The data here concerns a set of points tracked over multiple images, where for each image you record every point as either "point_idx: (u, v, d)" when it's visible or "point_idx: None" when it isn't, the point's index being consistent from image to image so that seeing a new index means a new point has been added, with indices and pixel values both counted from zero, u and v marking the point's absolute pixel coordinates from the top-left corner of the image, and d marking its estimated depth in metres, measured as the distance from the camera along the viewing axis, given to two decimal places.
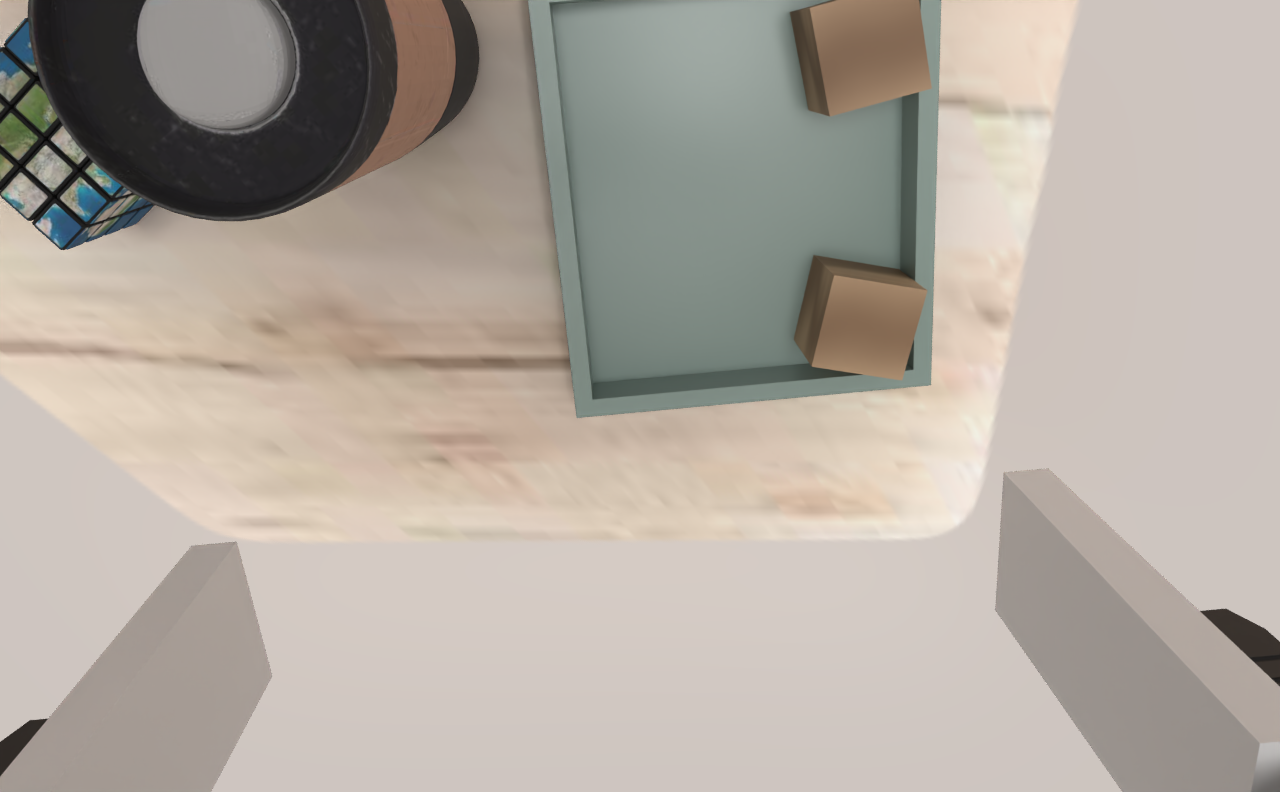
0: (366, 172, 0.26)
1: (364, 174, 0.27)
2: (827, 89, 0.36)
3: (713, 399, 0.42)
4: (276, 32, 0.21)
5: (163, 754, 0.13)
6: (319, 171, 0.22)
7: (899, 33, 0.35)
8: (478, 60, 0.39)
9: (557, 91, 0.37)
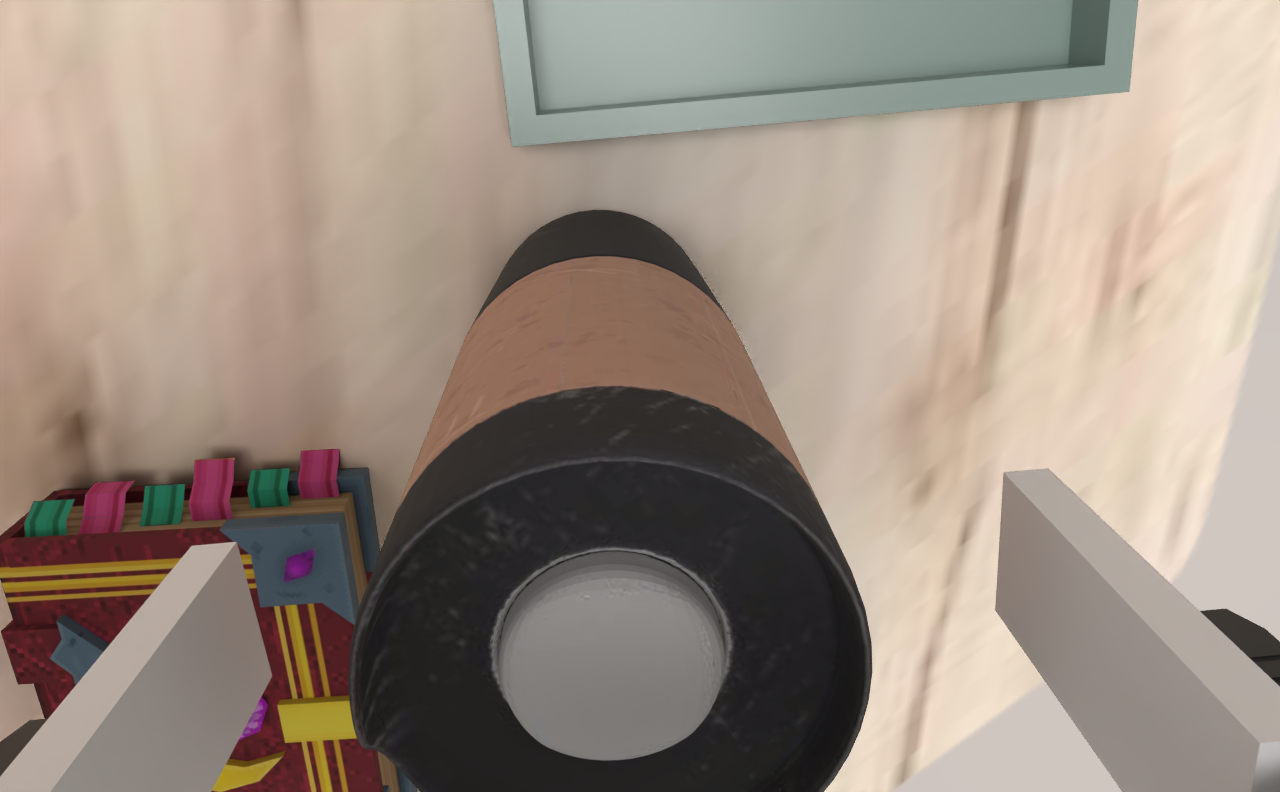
0: (777, 419, 0.17)
1: None
2: None
3: None
4: (581, 584, 0.13)
5: (163, 754, 0.13)
6: (796, 534, 0.13)
7: None
8: (610, 211, 0.30)
9: (650, 107, 0.27)
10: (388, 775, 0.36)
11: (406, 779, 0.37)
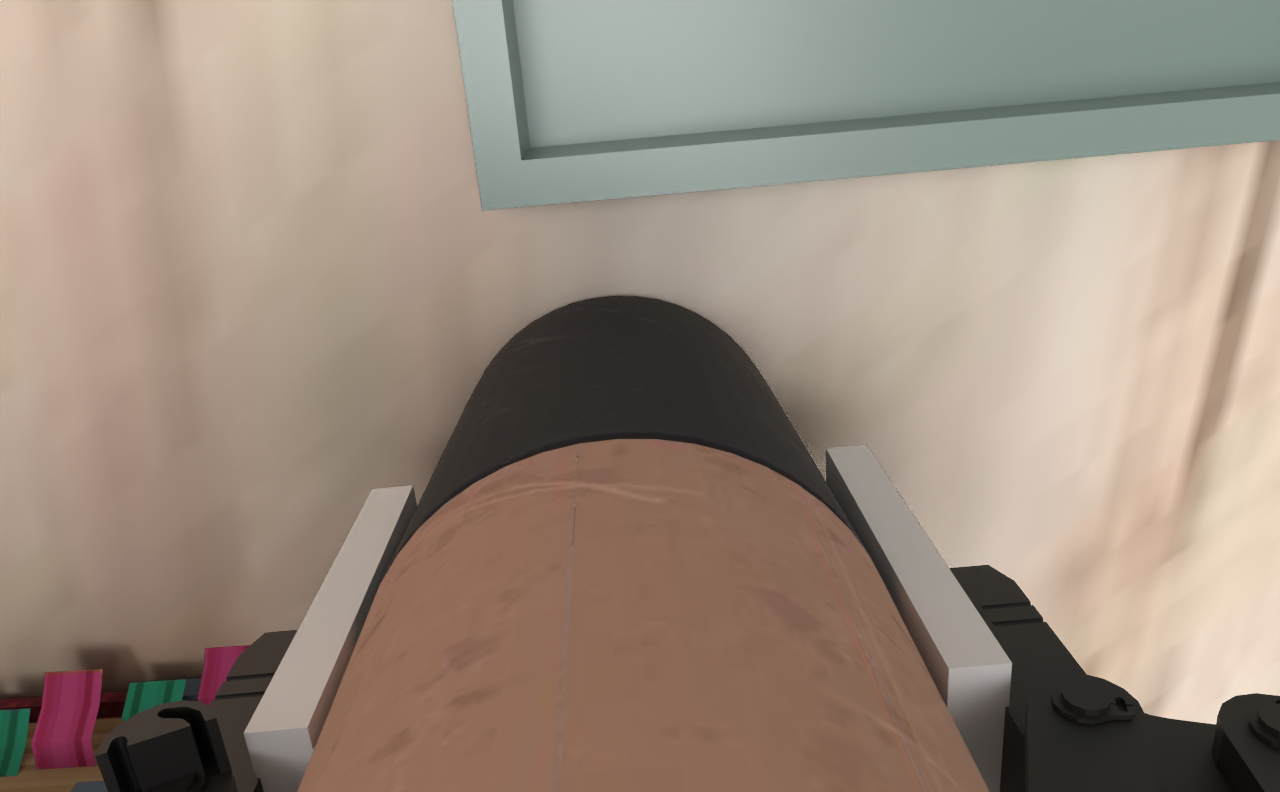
0: None
1: None
2: None
3: None
4: None
5: None
6: None
7: None
8: (638, 299, 0.20)
9: (708, 147, 0.16)
10: None
11: None
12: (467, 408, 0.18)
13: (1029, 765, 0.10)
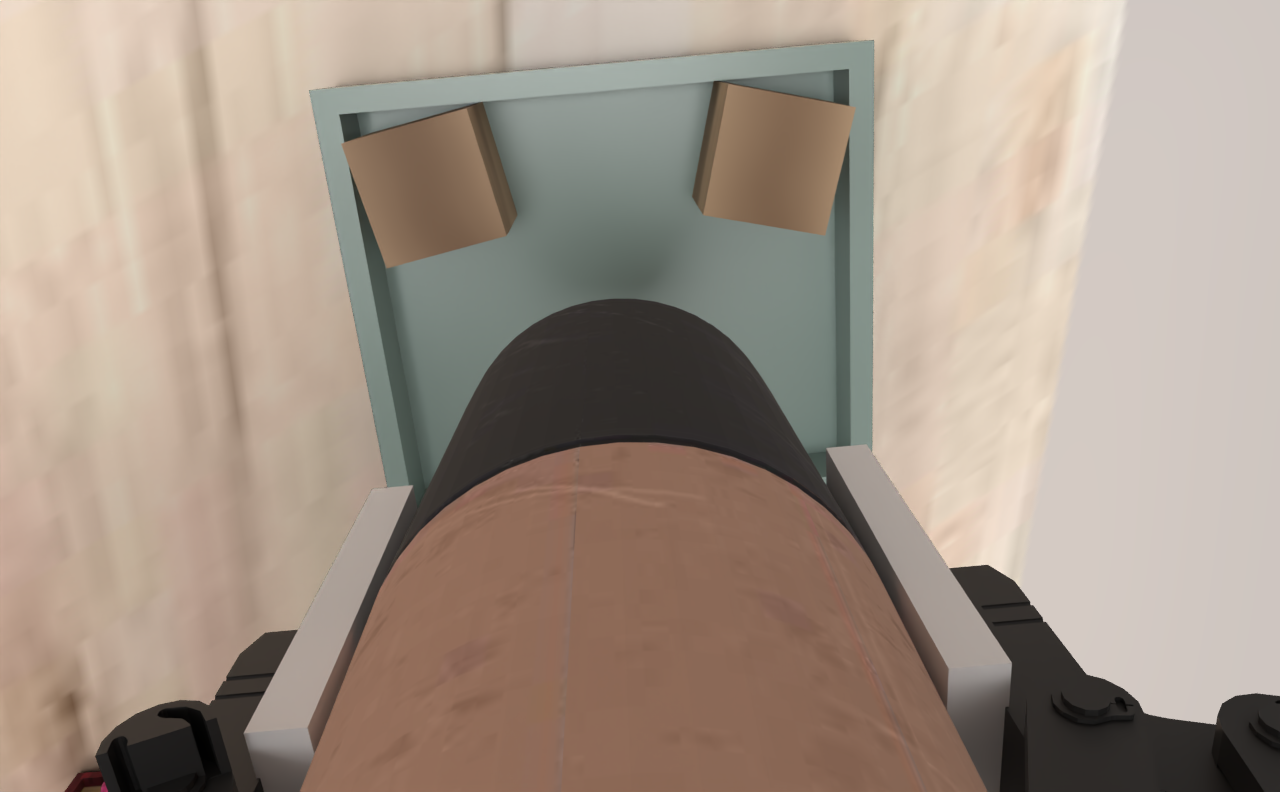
0: None
1: None
2: (475, 240, 0.30)
3: (865, 335, 0.33)
4: None
5: None
6: None
7: (405, 157, 0.29)
8: (638, 301, 0.20)
9: None
10: None
11: None
12: (467, 410, 0.18)
13: (1029, 765, 0.10)
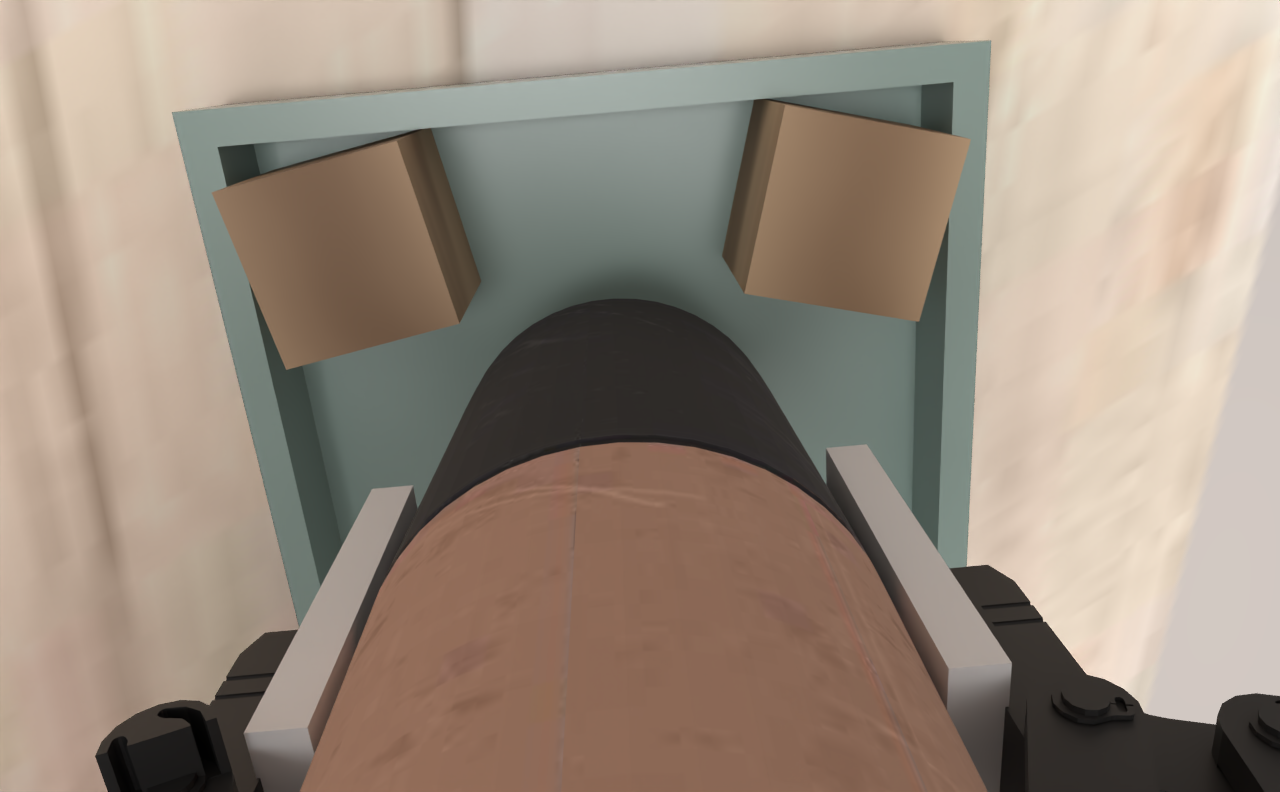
0: None
1: None
2: (414, 330, 0.20)
3: (961, 449, 0.24)
4: None
5: None
6: None
7: (307, 212, 0.19)
8: (638, 301, 0.20)
9: None
10: None
11: None
12: (467, 410, 0.18)
13: (1029, 765, 0.10)
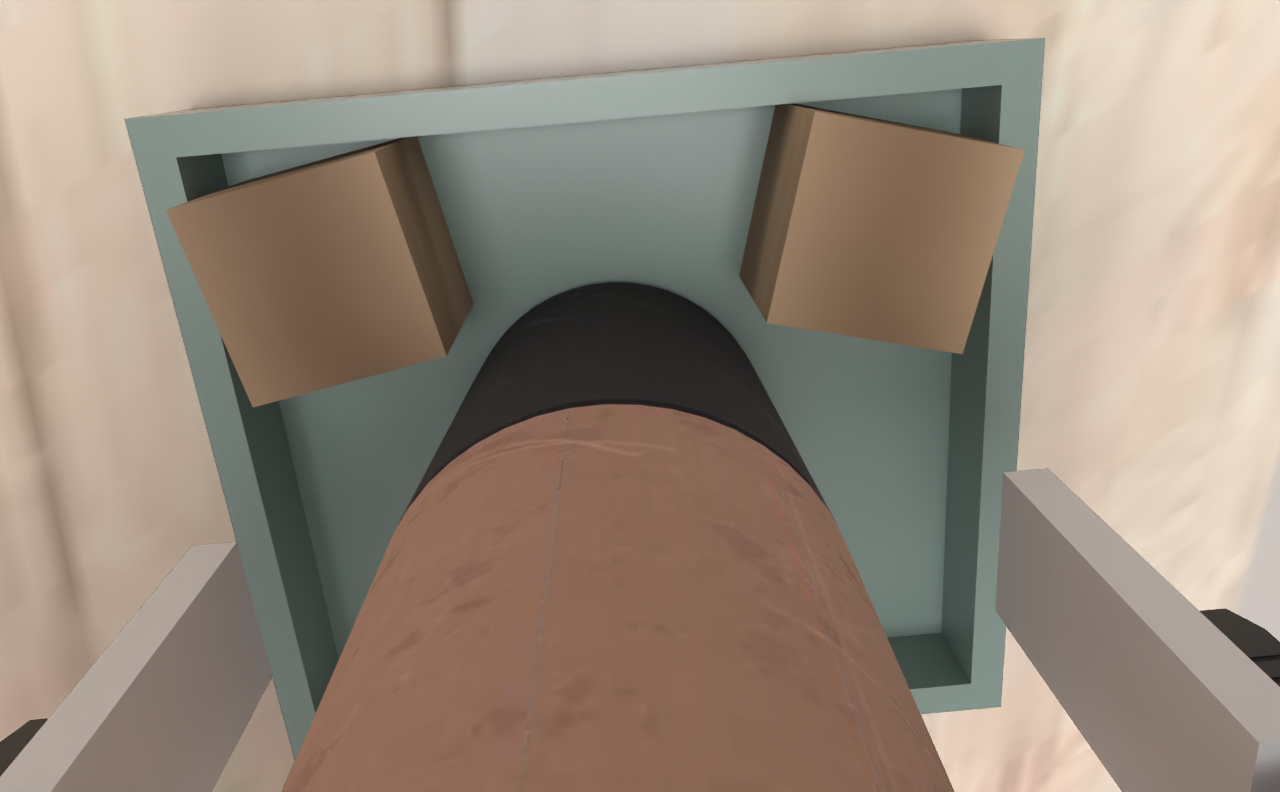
0: None
1: (949, 784, 0.09)
2: (396, 364, 0.18)
3: None
4: None
5: (163, 754, 0.13)
6: None
7: (274, 231, 0.17)
8: (632, 285, 0.21)
9: None
10: None
11: None
12: (473, 384, 0.19)
13: None
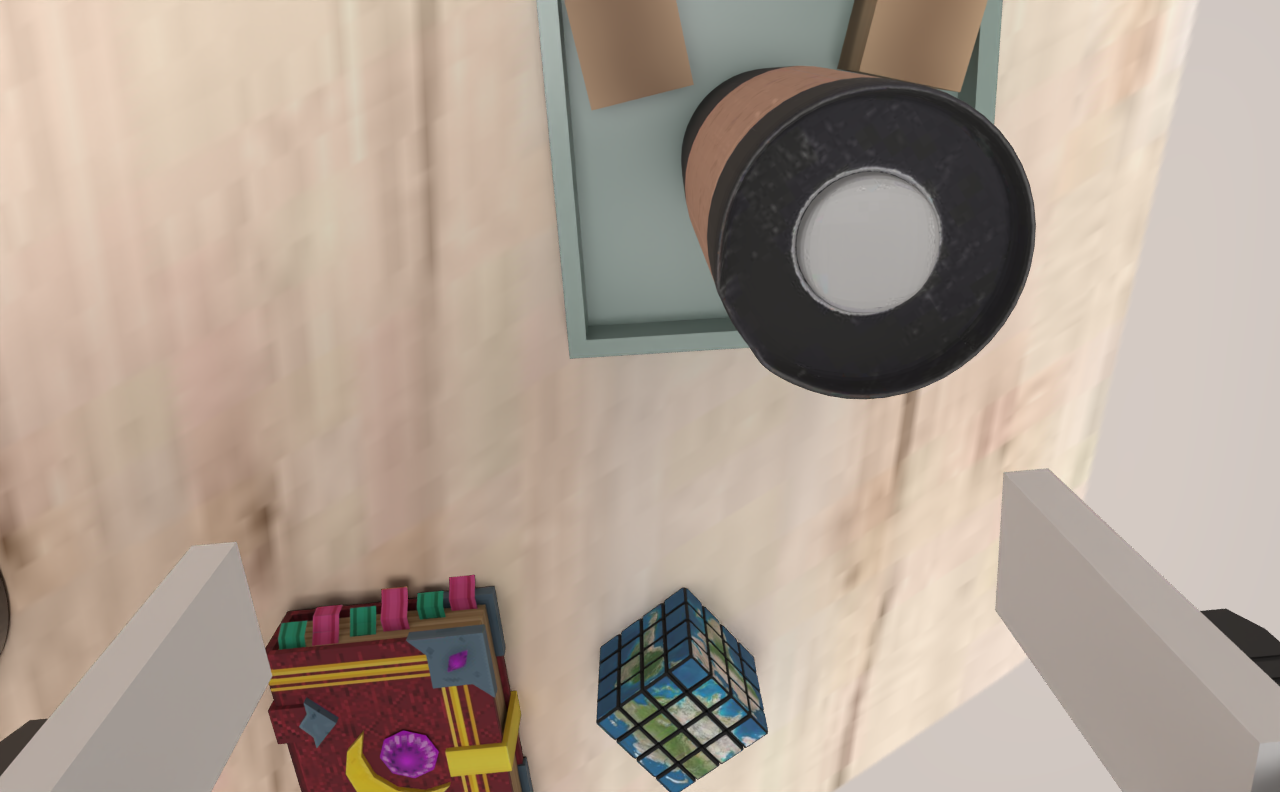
0: None
1: None
2: (667, 88, 0.35)
3: None
4: (860, 181, 0.21)
5: (163, 754, 0.13)
6: (989, 161, 0.22)
7: (615, 13, 0.34)
8: None
9: (661, 336, 0.41)
10: None
11: None
12: (701, 106, 0.36)
13: None
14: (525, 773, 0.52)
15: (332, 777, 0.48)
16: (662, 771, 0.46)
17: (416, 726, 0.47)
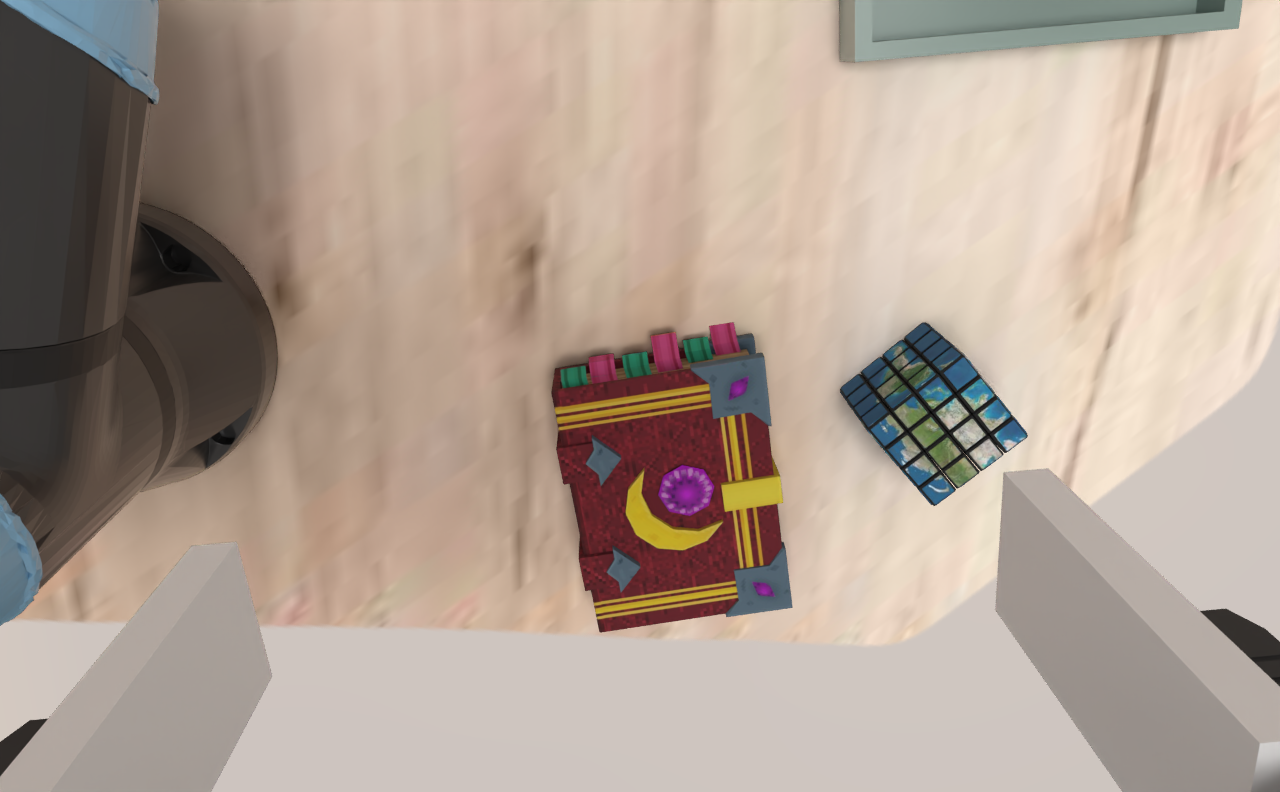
0: None
1: None
2: None
3: None
4: None
5: (163, 754, 0.13)
6: None
7: None
8: None
9: (942, 37, 0.43)
10: None
11: None
12: None
13: None
14: None
15: (610, 519, 0.50)
16: (925, 480, 0.48)
17: (694, 461, 0.49)
